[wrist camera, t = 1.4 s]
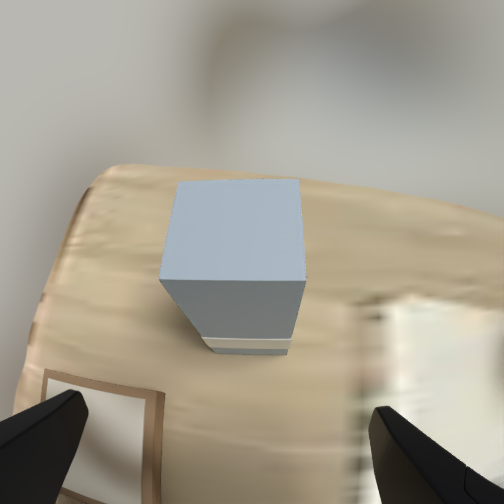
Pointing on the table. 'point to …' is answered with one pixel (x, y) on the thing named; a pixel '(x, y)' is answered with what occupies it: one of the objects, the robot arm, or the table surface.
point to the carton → (237, 262)
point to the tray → (114, 442)
